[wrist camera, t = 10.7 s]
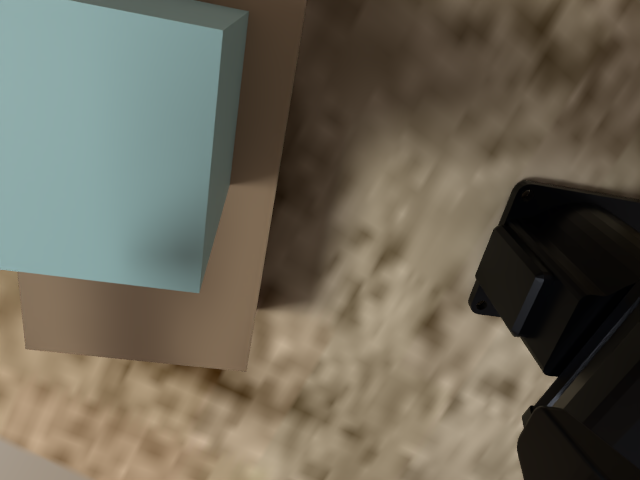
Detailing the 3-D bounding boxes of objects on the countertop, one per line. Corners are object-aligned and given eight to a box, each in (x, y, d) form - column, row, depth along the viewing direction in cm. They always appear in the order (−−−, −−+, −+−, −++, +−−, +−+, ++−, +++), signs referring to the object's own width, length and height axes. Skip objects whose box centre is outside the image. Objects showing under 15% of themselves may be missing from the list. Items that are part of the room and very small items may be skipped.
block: (248, 11, 13) (223, 30, 8) (229, 185, 15) (199, 293, 10) (50, -30, 12) (-132, -40, 7) (60, 159, 14) (-71, 260, 9)
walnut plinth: (346, -279, 13) (368, -374, 10) (252, 310, 22) (246, 371, 19) (36, -373, 12) (-66, -518, 9) (69, 288, 21) (25, 349, 18)
